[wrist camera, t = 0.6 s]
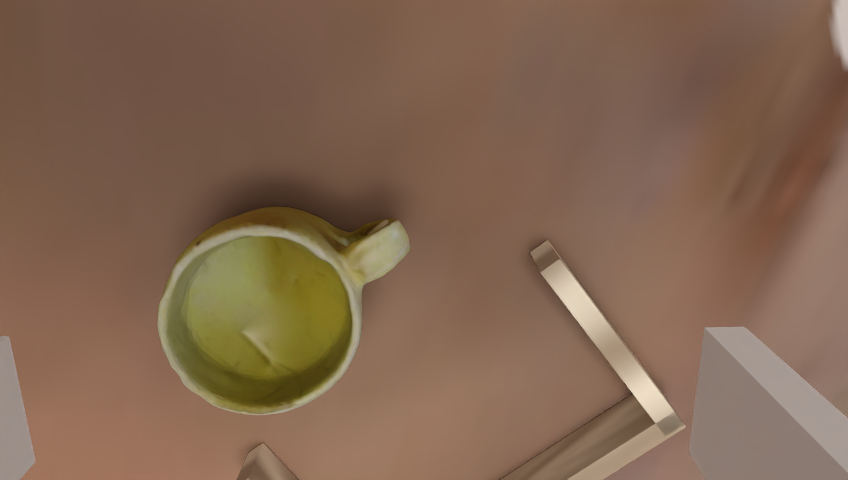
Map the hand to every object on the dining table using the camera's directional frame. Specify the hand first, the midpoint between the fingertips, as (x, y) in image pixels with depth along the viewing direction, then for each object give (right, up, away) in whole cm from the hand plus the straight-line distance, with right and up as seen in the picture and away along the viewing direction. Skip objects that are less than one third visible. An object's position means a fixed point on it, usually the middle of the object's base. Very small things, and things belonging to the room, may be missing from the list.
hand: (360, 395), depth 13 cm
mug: (-5, +2, +25) cm, 25 cm away
